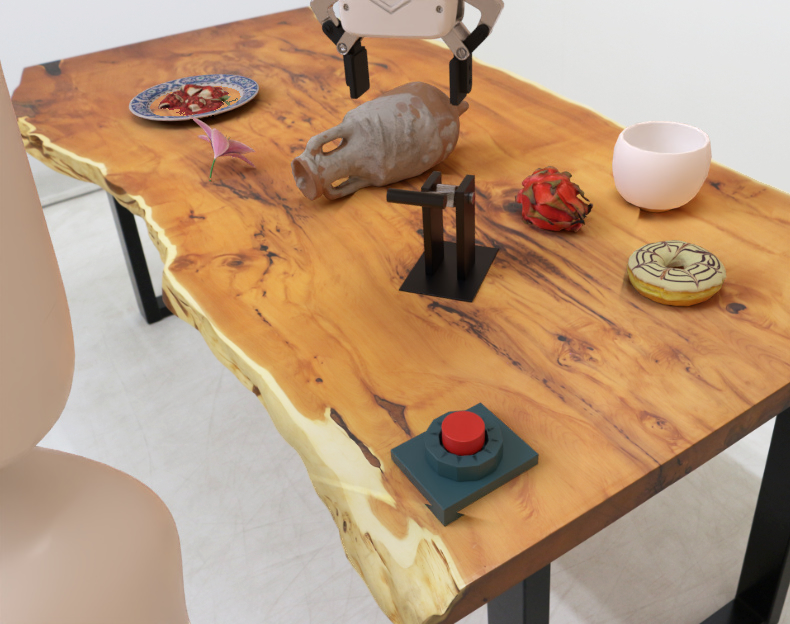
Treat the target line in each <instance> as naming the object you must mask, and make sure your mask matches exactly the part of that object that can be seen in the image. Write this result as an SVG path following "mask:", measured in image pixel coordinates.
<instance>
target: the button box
mask: <svg viewBox="0 0 790 624" xmlns="http://www.w3.org/2000/svg"><path fill="white" fill-rule="evenodd" d="M458 411H459V410H451V411H448V412H445V413H443V414H441V415H440V416H438V417H436V418H433V419H432V421H431V422H430V424H429V426H428V427H427V428H426V430H425V431H423V432H421V433H419V434H418V435H415V436H414V437H412V438H410V439H408V440H406V441H404V442H402V443H401V444H398V445H397V446H395V447H393V448H391V449H390V457H391V458H390V459H391V461H392V462H393V463H394V464H395V465H396V467H397V468H398V469H399V471H401V472H402V473H403V475H404V476H405V477H406V478H407V480H409V482H410V483H411V484H412V485H413V486H414V487H415V488H416V489H417V490H418V492H419V493H420V494H421V495H422V496H423V497H424V499H425V500H426V501H427V502H428V503H429V504H428V503H424V505H425V506H426V507H427V509H428V510H429V511H430V512H431V513H432V515H434V517H435V518H436V519H437V520H438V522H439V523H440V524H441V525H442V526H443V527H447V526H448V525H450V524H452V523H454V522H455V521H457V520H459V519H460V518H462V517H463V516H466V514H465V513H461V512H460V511H462V510H463V509H465V508H467V507H468V506H470V505H472V504H474V503H475V502H478V500H480V499H482V498H483V497H486V496H487V495H488V494H490V493H492V492H494V491H495V490H497V489H498V488H500V487H502V486H504V485H505V484H508V483H509V482H510V481H512V480H514V479H516V478H518V477H519V476H520V475H522V474H524V473H525V472H527V471H529V470H530V469H531V470H532V468H534V467H536V466H537V465H539V455H540V454H539V453H538V452H537V451H536V450H534V449H533V448H532V447H531V446H530V445H529V444H528V443H527V442H526V441H525V440H524V439H523V438H521V437H520V436H519V435H518V434H517V433H516V432H514V430H512V429H511V428H510V427H509V426H508V425H506V423H505V422H503V421H502V420H501V419H500V418H499V417H498V416H497V415H496V414H495V413H493V412H492V411H491V410H490V409H489V408H488V407H486V405H484V404H483V403H482V402H478V403H476V404H475V405H473V406H471V407H469V408H467V409H465V410H463V409H462V410H460V411H468V412H472V413H475V414H477V415H478V416H479V417H481V418H482V420H483V422H484V424H485V443H484V446H483V447H482V449H481V450H480V451H478V452H477V453H475V454H473V455H468V456H459V455H455V454H452V453H450V452H449V451H448V450H447V449H446V448H445V447H444V445H443V442H442V422H443V420H444V419H445V418H446V417H447V416H448V415H450V414H451V413H454V412H458Z"/></svg>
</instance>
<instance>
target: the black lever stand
mask: <svg viewBox="0 0 790 624" xmlns="http://www.w3.org/2000/svg"><path fill="white" fill-rule="evenodd" d="M442 180H443V179H442V171H438V170H433V171H432V173H430V175H429V176H428V178H426V180H425V181H424V183H423V184H422V185H421V187H420V192H434V191H436V188H437V184H443V181H442ZM476 198H477V197H476V175H475V174H468V173H467V174H466V175H465V176H464V177H463V179H462V180H461V182H460V184H459V187H458V188H457V189H456V191H455V207H454V208H455V241H447V240H444V238H445V236H444V209H438V208H430V207H422V206H421V215H422V217H421V218H422V219H421V220H422V233H423V234H422V238H423V252H422V254H420V256H419V257H418V259H417V260H416V262H415V264H414V265H413V267H412V268H411V270H410V271H409V273H408V274H407V276H406V277H405V279H404V281H403V282H402V284H401V285H400V287H399V288H398V292H405V293H410V294H416V295H421V296H429V297H434V298H440V299H447V300H453V301H458V302H464V303H469V304H470V303H471V304H472V303H473V302H474V300H475V298H476V296H477V294H478V292H479V290H480V288H481V286H482V284H483V283H484V280H485V279H486V276H487V274H488V272H489V271H490V268H491V267H492V265H493V262H494V261H495V259H496V257H497V254H498V253H499V250H500V248H499V247H492V246H485V245H477V244H476Z"/></svg>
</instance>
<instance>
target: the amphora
mask: <svg viewBox="0 0 790 624" xmlns="http://www.w3.org/2000/svg"><path fill="white" fill-rule="evenodd" d="M469 109H470V104H469V102H468V101H466V100H463V101H462V102H461V103H460V104H459V106H453V105H452V104H450V96H448V94H446V93H445V92H444V91H442V90H441V89H440V88H438V87H436V86H435V85H432V84H430V83H427V82H424V81H419V80H417V81H410V82H407V83H404V84H401V85H398V86H396V87H393V88H392V89H390V90H388V91H386V92H384V93H382V94H380V95H378V96H376V97H374V98H373V99H371V100H367V101H365V102H363V103H362V104H359V105H358V106H356V107H354V108H353V109H350V110H349V111H347V112H346V113H345V114H344V116H343V118H342V121H341V122H340V123H339V124H337V125H335V126H332V127H330V128H328V129H326V130H323V131H322V132H320V133H318V134H315V135H313V136H311V137H310V138H309V139H308V141H307V143H306V145H305V148H304V149H305V150H304V151H303V152H302V153H301V154H299V155H298V156H295V157H294V158H293V159H292V160H291V162H290V167H291V175H292V177H293V179H294V181H295V186H296V187H297V188H298V190H299V191H300V192H301V194H302V195H303V196H304V197H305V198H307V199H308V200H309V201H315V200H317V199H319V198H321V197H322V196H324V197H325V198H326V199H327V200H336V199H340V198H343V197H345V196H348V195H350V194H354V193H356V192H357V191H358V190H359V189H363V188H367V187H377V188H381V187H384V186H388V185H392V184H395V183H398V182H401V181H405V180H407V179H411V178H415V177H418V176H421V175H422V174H423V173H424V172H427V171H428V170H430V169H432V168H433V167H435V166H438V165H439V164H441V163H442V162H443V161H445V160H446V159H448V157H450V155H451V154H452V153H453V152H454V150H455V149H456V147H457V145H458V141H459V139H460V130H461V129H460V128H461V121H460V117H461V116H462V115H463V114H464V113H466V112H467V111H468V110H469ZM337 139H341V140H340V142H339V144H338V145H337V147H335V148H334V149H331V150H328V151H324V148H323V146H325V145H326V144H328V143H331V142H332V141H335V140H337ZM346 178H347V179H346ZM342 179H346V180H344V181H342V182H341V183H340V184H337V186H334V185H333V183H335V182H336V181H338V180H342Z"/></svg>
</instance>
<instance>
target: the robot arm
mask: <svg viewBox="0 0 790 624" xmlns="http://www.w3.org/2000/svg"><path fill="white" fill-rule="evenodd" d="M337 2H338V11H339V18H338V17H337V16H336V12H335V11H334V5H335V4H336V3H337ZM466 3H467V4H468V5H470V6H472V7H474V8H475V9H477V10H478V11H479V12H480V18H479V21H478V23H477V25H476V27H475V28H474V29H473V30H472V31H471V32H470V30H469V29H468V28H467V26H466V25H465V24H464V22H463V20H464V17H465V10H466V9H465V7H466ZM309 6H310V9H311V11H312V13H313V14H314V16H315V18H316V20H317V21H318V23H319V24H320V25H321V31H322V33H323V34H324V35H325V36H326V37H327V39H329V40H330V41H331V42H332V43H333V44H334V45H335V48H336V51H337V53H338V54H339V55H341V56H342V61H343V68H344V80H345V85H346V86H347V87H348V88H349V97H350V99H351V100H357V99H359V98H361V97H362V96H363V95H364V94H365V93H367V92H368V91H369V90H370V88H371V82H370V71H369V70H370V69H369V60H368V59H369V58H368V49H367V48H366V46H365V45H362V41H363V40H364V38H370V39H395V40H396V39H397V40H437V39H441V40H442V41H443V42H444V44H445V45H446V46H447V47H448V49H449V50H450V51H451V53H452V55H453V57H452V58H451V59H450V60H449V62H448V76H449V77H448V78H449V79H448V80H449V85H448V86H449V98H450V104H452V105H453V106H459V104H460V103H461V102H462V101H465V99H466V97H467V96H468V94H470V93H471V92H472V90H473V53H474V51H476V50H477V48H478V47H480V46H481V45H482V43H483V42H484V41H486V39H487V38H488V37H489V36H490V35H491V34H492V32H493V30H494V28H495V26H496V24H497V22H498V20H499V19H500V16H501V15H502V12H503V11H504V8H505V2H504V1H503V0H310V3H309ZM2 66H3V65H2V62H1V60H0V624H192V623H191V620H190V617H189V613H188V607H187V602H186V601H187V600H186V594H185V593H186V592H185V583H184V581H185V580H184V567H183V556H182V555H183V553H182V548H181V540H180V534H179V531H178V526H177V523H176V520H175V519H174V518H175V517H174V516H173V514H172V512H171V510H170V509H169V507H168V506H167V504H166V502H165V501H164V500H163V499H162V498H161V497H160V496H159V494H157V492H155V491H154V490H153V489H152V488H150V487H149V486H148V485H147V484H145V483H144V482H143V481H141V480H139V479H138V478H137V477H135V476H132V475H130V474H129V473H127V472H125V471H123V470H121V469H118V468H116V467H114V466H111V465H109V464H107V463H104V462H101V461H98V460H95V459H92V458H89V457H86V456H83V455H78V454H75V453H71V452H67V451H63V450H60V449H54V448H50V447H44V446H39V445H38V444H40V442H41V441H42V440H43V439H44V438H45V437H46V436H47V435H48V434H49V432H50V431H51V430H52V429H53V428H54V426H55V425H56V423H57V422H58V421H59V419H60V417H61V416H62V414H63V412H64V410H65V408H66V406H67V403H68V400H69V398H70V395H71V391H72V386H73V381H74V374H75V365H76V350H75V348H76V347H75V337H74V331H73V324H72V317H71V312H70V306H69V301H68V296H67V293H66V288H65V285H64V280H63V277H62V273H61V270H60V265H59V261H58V259H57V255H56V252H55V247H54V244H53V241H52V237H51V233H50V231H49V227H48V223H47V219H46V217H45V213H44V210H43V205H42V203H41V199H40V195H39V192H38V189H37V185H36V181H35V178H34V175H33V171H32V167H31V164H30V161H29V157H28V154H27V150H26V146H25V144H24V139H23V136H22V133H21V130H20V129H21V128H20V125H19V122H18V119H17V118H18V117H17V115H16V112H15V108H14V104H13V101H12V98H11V95H10V91H9V87H8V84H7V81H6V80H7V79H6V77H5V74H4V70H3V67H2Z"/></svg>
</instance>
